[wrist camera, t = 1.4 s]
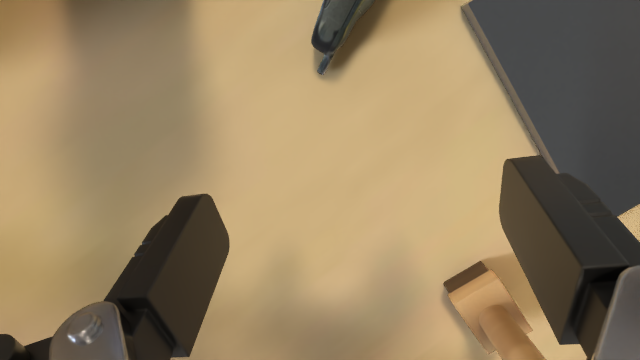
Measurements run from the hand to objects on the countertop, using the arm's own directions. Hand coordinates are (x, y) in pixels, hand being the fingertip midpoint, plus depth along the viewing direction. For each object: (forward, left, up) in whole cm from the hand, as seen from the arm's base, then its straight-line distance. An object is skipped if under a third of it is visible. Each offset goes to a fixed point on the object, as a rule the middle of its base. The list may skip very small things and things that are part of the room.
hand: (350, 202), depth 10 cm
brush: (+22, +2, -21) cm, 30 cm away
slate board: (+10, +20, -21) cm, 30 cm away
